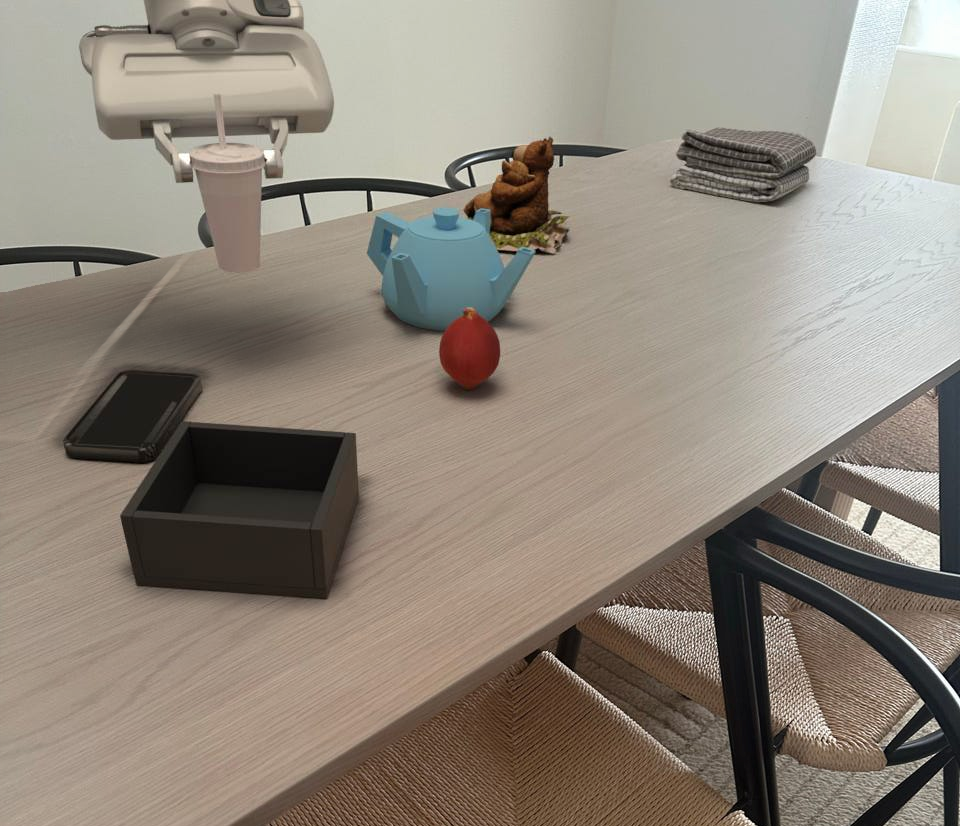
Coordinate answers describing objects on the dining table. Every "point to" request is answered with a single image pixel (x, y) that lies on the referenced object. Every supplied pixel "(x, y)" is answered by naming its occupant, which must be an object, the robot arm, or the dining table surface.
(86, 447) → the phone
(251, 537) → the black tray
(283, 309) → the dining table surface
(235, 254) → the smoothie
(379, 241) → the teapot
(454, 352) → the onion
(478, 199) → the bear figurine
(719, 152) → the towel
